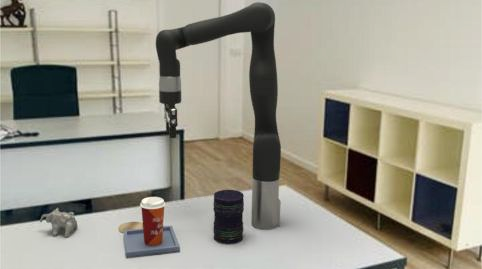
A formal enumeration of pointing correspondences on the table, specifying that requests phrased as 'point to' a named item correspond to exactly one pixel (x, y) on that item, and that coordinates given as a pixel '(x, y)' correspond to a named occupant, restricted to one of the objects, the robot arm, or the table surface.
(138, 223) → the cork coaster
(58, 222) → the elephant statuette
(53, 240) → the table surface
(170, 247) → the tray
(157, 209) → the paper cup
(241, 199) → the storage jar
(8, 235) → the table surface
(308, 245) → the table surface
